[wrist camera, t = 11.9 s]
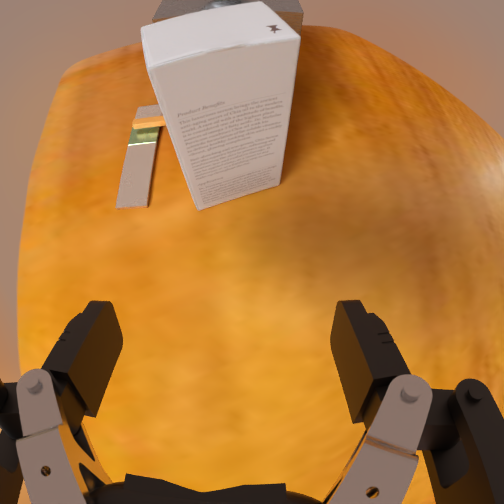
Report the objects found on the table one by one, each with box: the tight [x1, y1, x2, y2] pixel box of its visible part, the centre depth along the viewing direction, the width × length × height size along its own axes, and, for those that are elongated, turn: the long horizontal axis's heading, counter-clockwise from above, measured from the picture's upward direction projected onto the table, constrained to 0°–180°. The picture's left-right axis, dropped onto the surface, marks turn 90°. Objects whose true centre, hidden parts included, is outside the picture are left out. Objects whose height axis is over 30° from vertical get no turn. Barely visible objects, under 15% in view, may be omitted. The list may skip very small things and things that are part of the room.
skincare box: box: [141, 1, 301, 210], centre depth 15 cm, size 6×4×12 cm
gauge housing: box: [116, 0, 303, 210], centre depth 15 cm, size 13×15×15 cm
